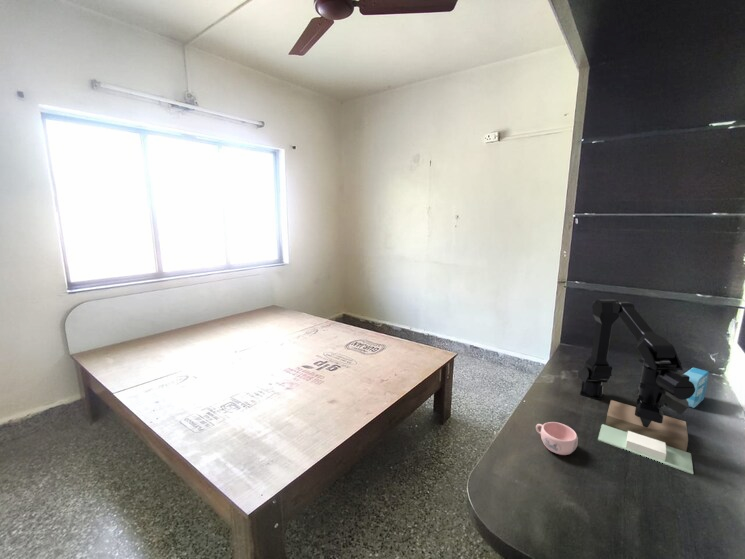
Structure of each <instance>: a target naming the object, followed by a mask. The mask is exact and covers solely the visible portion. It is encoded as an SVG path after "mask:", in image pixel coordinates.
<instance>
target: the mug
mask: <svg viewBox="0 0 745 559" xmlns="http://www.w3.org/2000/svg"><path fill="white" fill-rule="evenodd" d="M539 428H540V429H539ZM535 431H536V432H537V434H539V435H540V437H541V441H542V443H543V445H544V446H545V448H546V449H548V450H549V451H550V452H551V453H553V454H554V453H555V454H556V455H559V456H567V455H571V454H573V453H574V452H575V450H576V449H577V447H578V442H579V438H578V435H577V433H576V431H575V430H574V429H573V428H571V427H570V426H569V425H567V424H564V423H562V422H561V423H560V422H558V421H557V422H556V421H549V422H545V423H543V424H542V423H537V424H536V425H535Z"/></svg>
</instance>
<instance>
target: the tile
mask: <svg viewBox="0 0 745 559" xmlns="http://www.w3.org/2000/svg"><path fill="white" fill-rule="evenodd" d="M626 448H628V449H631V450H634V451H637V452H639V453H642V454H645V455H648V456H651V457H654V458H657V459H660V460H662V461H665V458H666V444H665V442H662V441H659V440H656V439H652V438H649V437H646V436H643V435H640V434H637V433H634V432H631V431H628V433H627V441H626Z"/></svg>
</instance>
